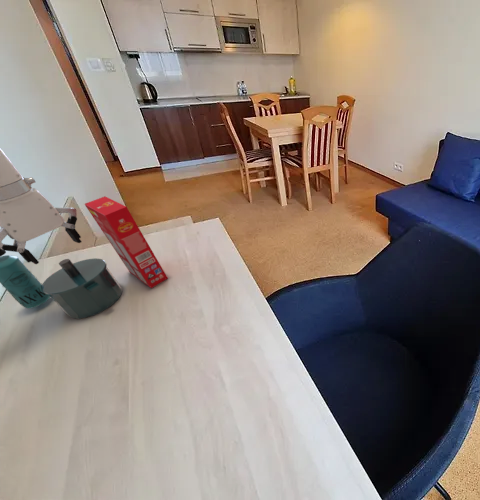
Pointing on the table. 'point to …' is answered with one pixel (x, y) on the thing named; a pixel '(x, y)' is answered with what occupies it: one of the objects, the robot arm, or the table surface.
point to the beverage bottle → (20, 282)
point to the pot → (90, 297)
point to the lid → (73, 275)
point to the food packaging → (127, 240)
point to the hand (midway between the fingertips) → (57, 251)
